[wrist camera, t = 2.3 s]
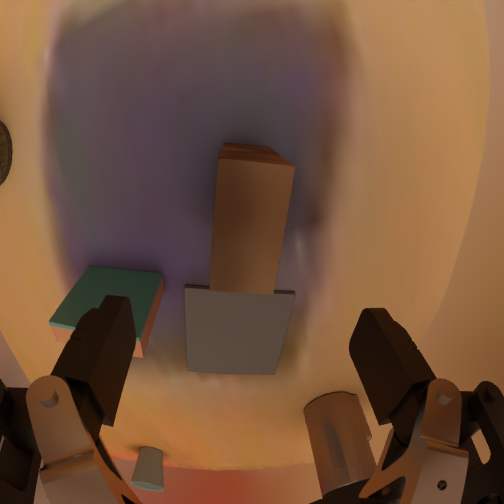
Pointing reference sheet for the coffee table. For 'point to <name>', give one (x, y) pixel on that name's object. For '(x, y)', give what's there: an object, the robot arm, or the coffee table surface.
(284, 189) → the tall wooden block
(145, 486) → the cup
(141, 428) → the coffee table surface
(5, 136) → the olive canister
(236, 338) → the rest mat
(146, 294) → the tile
